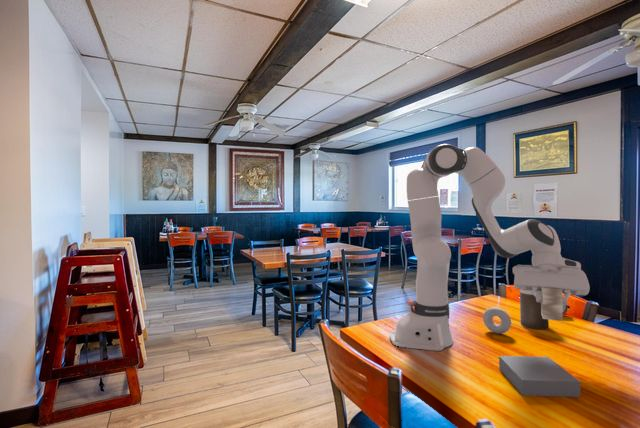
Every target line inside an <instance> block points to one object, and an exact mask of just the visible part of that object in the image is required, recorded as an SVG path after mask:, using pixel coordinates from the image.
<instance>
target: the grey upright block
mask: <svg viewBox="0 0 640 428" xmlns="http://www.w3.org/2000/svg"><path fill="white" fill-rule="evenodd" d="M541 295H542V302H541V315H542V318H543V319H548V321H549V320H550V321H556V322H557V321H559V322H563V315H564V314H563V296H564V294H563V292H562V291H561V289H557V288H545V287H541Z"/></svg>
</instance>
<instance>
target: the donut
mask: <svg viewBox="0 0 640 428" xmlns="http://www.w3.org/2000/svg"><path fill="white" fill-rule="evenodd" d="M494 317H498V319H500V323H499V324H497V323H495V322H494V321H493V318H494ZM511 319H512V318H511V316H510V315H509V313H507V311H505V310H504V309H502V308H500V307H497V306H496V307H495V306H494V307H493V306H492V307H488V308H487V309H486V310H485V311H484V312H483V315H482V320H483V321H482V322H483V323H484V326H485V327H486V328H487V329H488V330H489V331H490V332H492V333H495V334H498V335H499V334H505V333H507V332H509V331H510V329H511V327H512V320H511Z"/></svg>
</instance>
